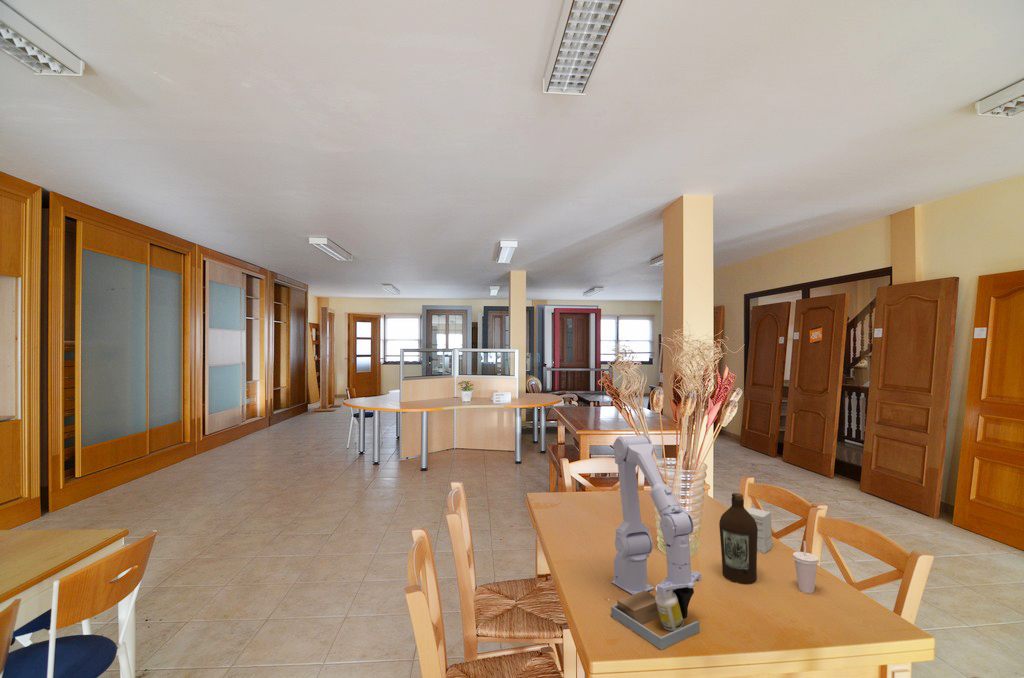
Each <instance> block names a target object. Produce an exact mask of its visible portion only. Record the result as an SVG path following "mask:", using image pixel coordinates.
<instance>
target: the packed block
mask: <svg viewBox="0 0 1024 678" xmlns="http://www.w3.org/2000/svg"><path fill="white" fill-rule="evenodd" d="M655 597H656V595H654V594H652V593H650V592H649V591H645V590H644V591H642V592H639V593H636V594H633V595H632V594H630V595H628V596H626V597H623V598H620V599H617V609H618V610H620V611H621V612H623V613H624V614H626V615H627V616H629V617H631V618H632V619H634V620H635V621H637V622H638V623H640V624H641V625H643V624H646V623H649V622H651V621H654V620H656V619H658V618H660V616H659V612H658V608H657V604H656V600H655Z"/></svg>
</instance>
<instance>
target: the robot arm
mask: <svg viewBox="0 0 1024 678" xmlns="http://www.w3.org/2000/svg"><path fill="white" fill-rule="evenodd" d="M612 445H613V454H614V456H613V457H614V463H615V464H616V465H617V472H618V481H619V482H618V483H619V490H620V491H619V492H620V498H621V499H620V500H621V501H620V502H621V512H622V522H621V523H620V524H619V525H618V526H617V527H616V528H615V538H614V546H615V551H616V554H615V556H614V558H613V580H612V581H611V584H613V585H615V586H617V587H619V588H620V589H622V590H623V591H625V592H627V593H629V594H630V595H633V594H636V593H639V592H642V591H644V590H645V591H647V592H649V591H652V590H654V589H655V587H654V586H652V585H651V584H649V583H648V558H649V557H650V554H652V552H653V548H654V541H653V538H652V536H651V535H652V534H651V532H650V528H649V527H648V525H646V524H645V523H644V522H642V515H641V514H642V513H641V508H640V507H641V506H640V497H639V488H638V478H637V476H638V475H637V470H636V469H637V466H638V467H639V469H640V471H641V472H642V474H643V475H644V478H645V480H646V481H647V482H648V484H649V486H650V488H651V490H650V493H649V494H650V497H651V500H652V501H653V505H654V506H655V508H656V510H657V512H658V514H659V517H660V521H659V528H660V530H661V533H662V539H663V541H664V543H665V550H666V551H665V553H666V555H665V556H666V572H667V576H666V577H665V578H664V579H663V580H662V581H661V582H660V583H658V584H656V586H657V593H658V594H660V595H662V596H665V595H666V591H667V590H670V589H672V590H673V592H674V593H675V594H676V596H677V598H678V602H679V606H680V609H681V613H682V617H683V620H685V619H687V618H688V612H689V611H688V610H689V605H690V602H691V599H692V597H693V595H694V594H695V590H694V588H695V587H696V583H695V582H701V581H702V573H701V572H698V571H696V570H692V568H691V567H692V565H691V563H692V562H691V550H690V535H691V534H693V532H694V526H695V525H694V520H693V518H692V516H691V514H690V513H689V512H688V511H687V510H685V508H684V507H683V506H681V505H680V504H679V502H678V500H677V498H676V495H675V493H674V492H673V490H672V488H671V486H670V485H668V484H665V483H664V480H663V478H662V476H661V474H660V471H659V469H658V466H657V464H656V461H655V459H654V451H655V450H654V449H655V448H654V445H653V442H652V440H651V437H650V436H649V435H647V434H641V435H631V436H629V435H628V436H622V435H620V436H617V437H616V438H615V440H614V442H613V443H612ZM657 593H656V594H657Z"/></svg>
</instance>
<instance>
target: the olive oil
mask: <svg viewBox="0 0 1024 678" xmlns="http://www.w3.org/2000/svg"><path fill="white" fill-rule="evenodd" d="M744 500H745V499H744V495H743V494H742V493H739V492H732V493H731V505H730V506H729V508H728V509H727V510H725V511H724V513H722V515H721V516H720V519H719V523H718V525H719V538H720V551H721V553H720V554H721V568H722V571H721V572H722V576H723V577H724V578H725V579H726V580H728V581H731V582H733V583H736V582H737V584H742V585H743V584H744V585H750V584H754V583H756V582H757V578H758V576H757V575H758V572H757V571H758V567H757V566H758V565H757V563H758V552H757V536H758V528H757V524H756V521H755V520H754V518H753V517H752V516H751V515H750V514H749V513H748V512H747V509H746V508H745V507H744V502H745V501H744Z"/></svg>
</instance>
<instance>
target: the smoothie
mask: <svg viewBox="0 0 1024 678" xmlns="http://www.w3.org/2000/svg"><path fill="white" fill-rule="evenodd" d="M802 542H803V551H795V552H793V553H792V559H793V560H794V566H795V567H794V568H795V571H796V577H797V578H796V579H797V585H798V590H799V591H800V592H802V593H804V594H805V593H806V594H814V592H815V587H816V578H817V569H818V564H819V562H820V561H819V557H818V556H817V555H814V554H813V553H809V552H807V543H806V542H807V541H805V540H803V541H802Z"/></svg>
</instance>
